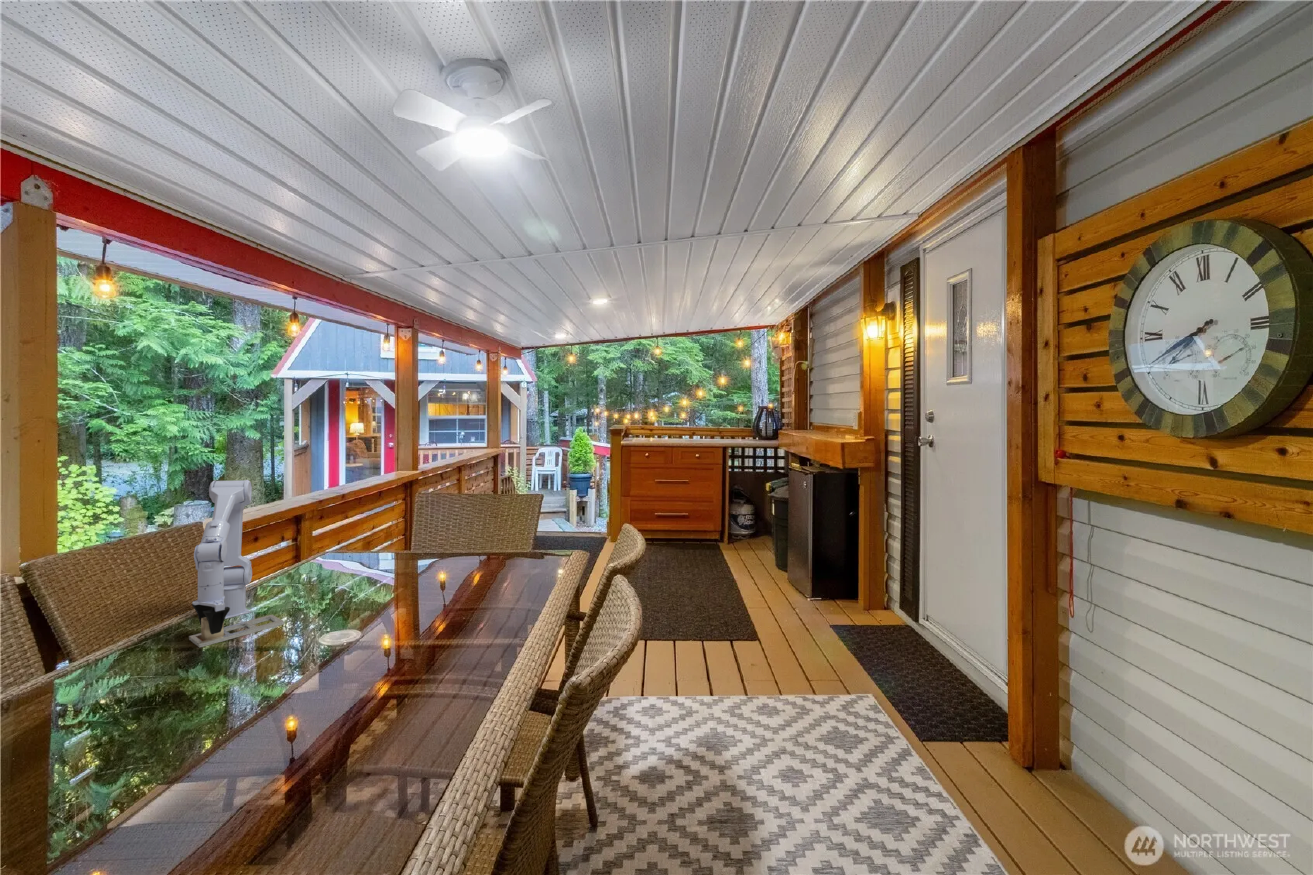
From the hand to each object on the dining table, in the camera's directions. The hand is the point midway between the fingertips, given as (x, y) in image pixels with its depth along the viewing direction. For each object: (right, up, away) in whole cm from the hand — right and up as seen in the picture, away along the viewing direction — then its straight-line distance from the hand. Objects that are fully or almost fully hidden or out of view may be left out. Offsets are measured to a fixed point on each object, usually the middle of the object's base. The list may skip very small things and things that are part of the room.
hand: (210, 629), depth 150 cm
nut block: (0, -3, 0) cm, 3 cm away
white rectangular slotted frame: (+3, -3, +6) cm, 7 cm away
